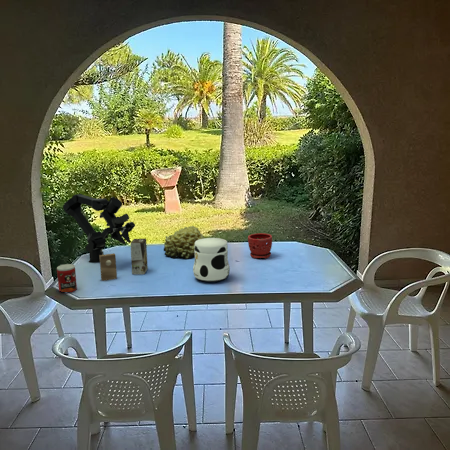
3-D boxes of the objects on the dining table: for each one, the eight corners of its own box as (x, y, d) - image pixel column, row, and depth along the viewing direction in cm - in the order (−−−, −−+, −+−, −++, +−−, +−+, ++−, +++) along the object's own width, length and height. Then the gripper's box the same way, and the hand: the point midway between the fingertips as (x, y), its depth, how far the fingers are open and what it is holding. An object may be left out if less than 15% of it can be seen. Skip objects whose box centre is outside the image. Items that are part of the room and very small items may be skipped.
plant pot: (256, 252, 257) (256, 231, 254) (276, 255, 249) (276, 234, 247) (243, 257, 247) (243, 236, 244) (264, 261, 239) (264, 240, 236)
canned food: (60, 294, 196) (57, 270, 194) (57, 288, 203) (55, 265, 201) (78, 291, 200) (76, 267, 197) (75, 285, 207) (73, 263, 204)
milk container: (188, 275, 219) (187, 239, 215) (221, 270, 226) (220, 235, 222) (200, 287, 204) (199, 248, 200) (235, 281, 210) (235, 244, 206)
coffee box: (144, 274, 221) (143, 242, 217) (131, 274, 221) (129, 242, 218) (148, 268, 230) (146, 238, 226) (135, 268, 230) (133, 238, 227)
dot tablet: (101, 279, 215) (99, 255, 212) (115, 277, 218) (114, 253, 215) (102, 281, 212) (100, 256, 210) (117, 278, 215) (115, 254, 213)
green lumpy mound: (202, 261, 242) (201, 232, 239) (159, 259, 247) (157, 231, 243) (211, 248, 266) (211, 222, 263) (172, 246, 271) (171, 221, 267)
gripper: (103, 212, 219) (120, 237, 215) (131, 206, 234) (148, 229, 230) (94, 226, 225) (110, 250, 221) (122, 219, 240) (138, 242, 236)
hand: (127, 243), depth 227 cm, fingers open, 3 cm apart
